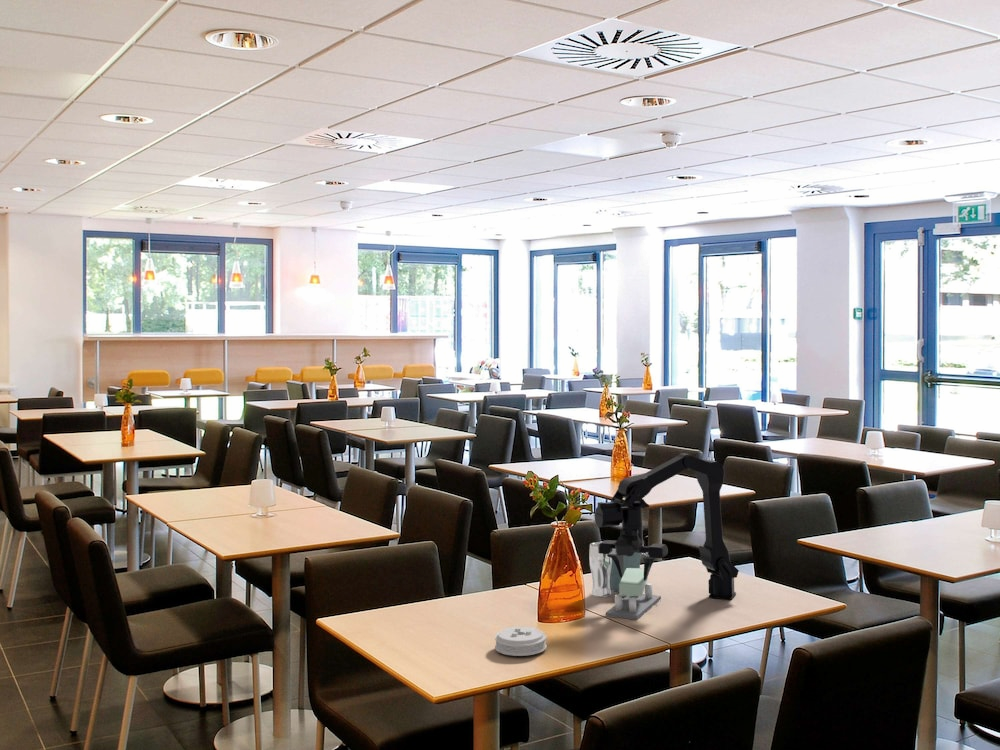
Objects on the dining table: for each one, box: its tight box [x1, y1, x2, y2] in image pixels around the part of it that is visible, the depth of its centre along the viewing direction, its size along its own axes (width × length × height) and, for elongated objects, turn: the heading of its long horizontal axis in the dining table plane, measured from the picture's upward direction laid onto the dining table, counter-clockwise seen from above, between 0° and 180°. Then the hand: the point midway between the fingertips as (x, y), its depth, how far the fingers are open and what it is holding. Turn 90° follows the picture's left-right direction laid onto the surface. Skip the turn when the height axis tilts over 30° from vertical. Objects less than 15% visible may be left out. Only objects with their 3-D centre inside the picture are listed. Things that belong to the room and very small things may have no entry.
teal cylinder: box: [611, 552, 642, 592], centre depth 279 cm, size 10×10×12 cm
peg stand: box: [605, 582, 662, 621], centre depth 259 cm, size 9×21×5 cm, turn 153°
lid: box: [494, 626, 548, 657], centre depth 227 cm, size 13×13×5 cm
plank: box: [618, 567, 649, 596], centre depth 259 cm, size 6×18×3 cm, turn 166°
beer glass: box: [588, 541, 613, 598], centre depth 273 cm, size 7×7×15 cm
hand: (633, 579), depth 259 cm, fingers closed on plank, 6 cm apart
